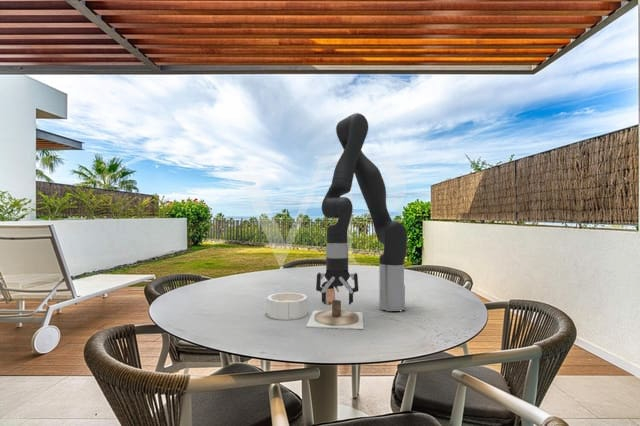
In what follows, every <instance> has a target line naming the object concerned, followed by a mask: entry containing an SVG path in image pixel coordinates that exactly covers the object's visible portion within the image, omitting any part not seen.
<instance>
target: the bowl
mask: <svg viewBox="0 0 640 426" xmlns="http://www.w3.org/2000/svg"><path fill="white" fill-rule="evenodd" d="M285 300H290V301H285ZM266 315H267V316H268V318H271V319H275V320H279V321H282V320H283V321H284V320H285V321H289V320H290V321H291V320H298V319H301V318H305V317H306V316H307V315H308V295H306V294H305V293H299V292H278V293H273V294H269V296H267V298H266Z"/></svg>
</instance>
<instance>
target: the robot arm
mask: <svg viewBox="0 0 640 426" xmlns="http://www.w3.org/2000/svg"><path fill="white" fill-rule="evenodd" d="M335 132H336V136H337V138H338V141H339V143H340V145H341V147H342V149H343V152H342V154H341V155H340V158H339V159H338V161H337V163H336V165H335V168H334V170H333V175H332V180H331V184H330V187H329V188H328V190H327V192H326V193H325V196H324V198H323V199H322V203H321V213H322V215H323V216H324V217H326V218H328V219H337V221H336V223H335V224H332V225H329V226H328V227H327V228H326V248H325V251H326V252H325V266H326V267H325V270H326V271H325V273H323V272H322V273H321V272H317V274H316V283H315V285H316V287H315V291H317V292H320V293H321V302H322V303H323V305H327V304H326V290H327V289H328V287H329V286H330V285H332V286H338V287H343V286H344V288H345V289H346V290H347V291H348V305H352V303H353V302H354V294H355V293H356V292H357V293H358V292H359V279H358V273H357V272H354V273H350V272H349V245H348V244H349V243H348V229H349V227H350V221H351V217H352V214H353V210H354V209H353V203H352V200H351V199H350V198H349V197H347V196H343V195H345V194H348V193H350V192H351V190H352V186H353V181H354V176H355V178H356V181H357V185H358V187H359V189H360V192H361V195H362V197H363V199H364V202H365V205H366V207H367V209H368V211H369V214H370V217H371V220H372V224H373V228H374V233H375V235H376V239H377V240H378V241H379V243H380V244H382V245H383V253H382V254H381V255H380V256H379V263H378V264H379V265H378V266H379V271H378V272H379V274H378V276H379V278H378V279H379V281H378V282H379V283H378V286H379V287H378V288H379V289H378V291H379V293H378V299H379V302H378V305H379V308H380V309H379V310H381V309H382V310H381V311H383V310H386V311H385V312H387V311H400V310H405V311H406V285H405V260H406V257H407V247H408V232H407V228H406V227H405V226H404V224H403V223H402V222H399V221H393V220H392V217H391V215H390V212H389V211H388V206H387V190H386V183H385V181H384V179H383V176H382V174H381V171H380V169H379V168H378V166H377V165H376V164H375V163H373V161H371V160H370V158H368V157H367V156H366V155H365V153H363V151H362V148H363V146H364V143H365V141H366V138H367V135H368V133H369V122H368V119H367V118H366V117H365V115H363V114H362V113H358V112H355V113H353V114H350V115H349V116H347V117H345V118H344V119H342V120H340V121H339V122H337V124H336V127H335ZM324 278H325V279H326V281H328V282H327V283H326V284H325V286H324V287H323V288H322V287H321V286H322V284H321V283H322V280H323V279H324ZM350 278H351V280H352V281H353V283H354V287H352V286H351V285H350V283H349V282H348V280H349V279H350ZM400 312H401V311H400Z"/></svg>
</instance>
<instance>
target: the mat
mask: <svg viewBox="0 0 640 426" xmlns="http://www.w3.org/2000/svg"><path fill="white" fill-rule="evenodd" d="M321 311H322V310H313V311H312V313H311V315H310V317H309V320H308V321H307V322H306V323H307V324H306V326H305V328H312V329H313V328H314V329H332V328H333V329H335V328H337V330H339V329H340V330H356V329H363V330H364V315H363V313H364V312H362V311H353V312H354V313H356V314H357V315H358V316H359V320H358V322H356V323H354V324H351V325H345V326H331V325H324V324H321V323H318V322H316V321H315V319H314V315H315V314H316V313H318V312H321Z"/></svg>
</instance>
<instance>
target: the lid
mask: <svg viewBox="0 0 640 426" xmlns="http://www.w3.org/2000/svg"><path fill="white" fill-rule="evenodd" d="M331 303H332V305H331V309H327V310H326V309H325V310H320V311H321V312H318V313H316V314H315V315H314V319H315V321H316V322H318V323H321V324H324V325H331V326H345V325H351V324H354V323H356V322H358V320H359V316H358V315H357V314H356V313H354V312H355V311H350V310H343V309H342V301H341V300H339V299H335V300H333V301H332V302H331Z"/></svg>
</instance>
